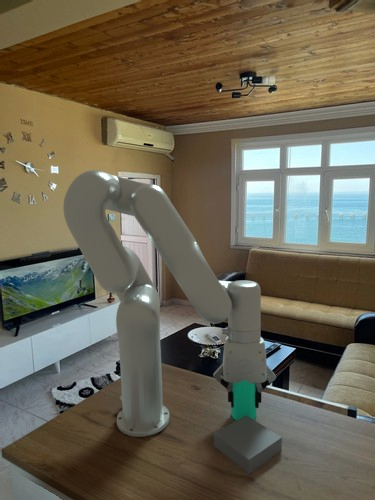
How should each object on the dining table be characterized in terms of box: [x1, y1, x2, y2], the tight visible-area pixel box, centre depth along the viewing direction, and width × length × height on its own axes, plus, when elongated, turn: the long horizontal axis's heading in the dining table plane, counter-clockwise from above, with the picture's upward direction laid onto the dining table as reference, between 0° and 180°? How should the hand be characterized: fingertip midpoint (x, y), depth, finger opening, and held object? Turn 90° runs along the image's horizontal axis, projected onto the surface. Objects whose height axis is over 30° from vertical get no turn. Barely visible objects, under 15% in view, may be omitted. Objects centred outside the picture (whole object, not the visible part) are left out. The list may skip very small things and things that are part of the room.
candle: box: [230, 380, 257, 421], centre depth 87 cm, size 6×6×12 cm
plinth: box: [213, 415, 283, 474], centre depth 76 cm, size 10×10×3 cm
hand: (244, 403), depth 87 cm, fingers closed on candle, 5 cm apart
